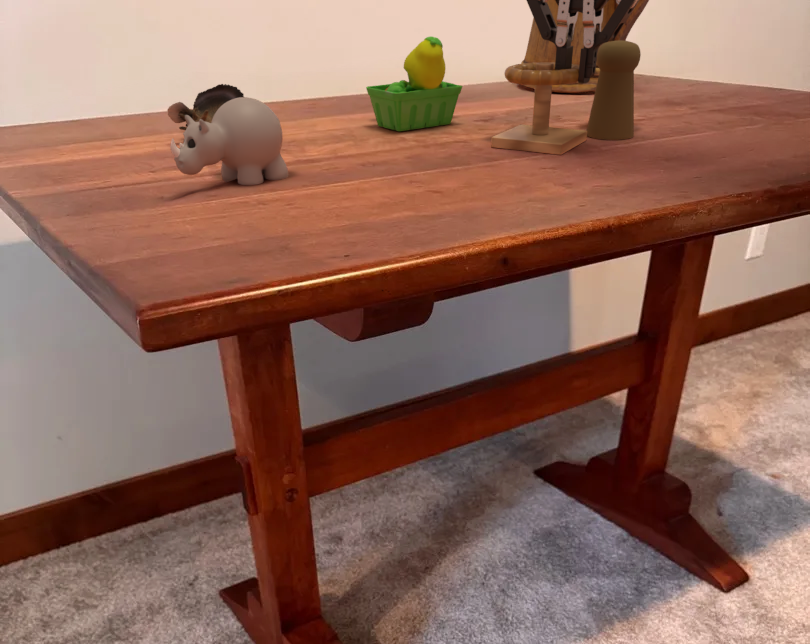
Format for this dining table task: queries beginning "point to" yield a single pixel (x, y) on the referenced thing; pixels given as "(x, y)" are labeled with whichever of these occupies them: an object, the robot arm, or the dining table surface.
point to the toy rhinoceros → (235, 143)
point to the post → (540, 128)
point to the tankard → (575, 44)
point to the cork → (614, 92)
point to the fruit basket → (417, 92)
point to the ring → (541, 75)
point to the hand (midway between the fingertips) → (574, 81)
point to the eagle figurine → (204, 104)
